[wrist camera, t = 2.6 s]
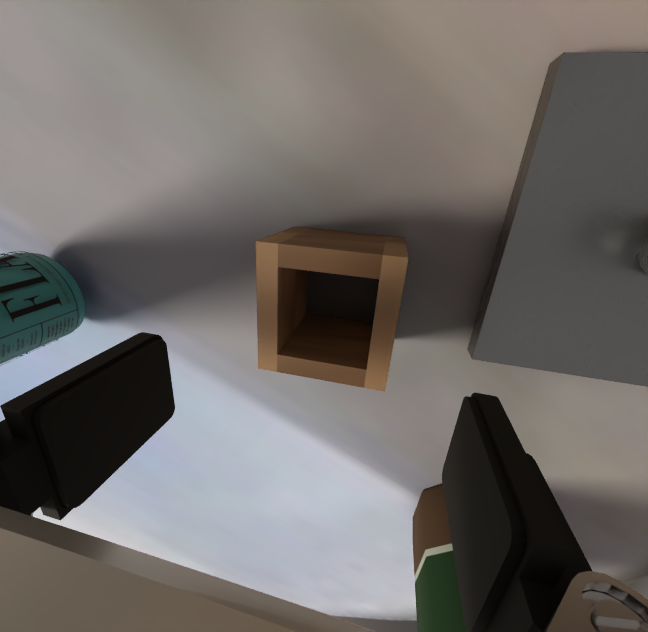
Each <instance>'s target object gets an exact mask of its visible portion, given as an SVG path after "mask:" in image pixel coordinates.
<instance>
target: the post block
mask: <svg viewBox="0 0 648 632" xmlns="http://www.w3.org/2000/svg"><path fill="white" fill-rule="evenodd" d="M468 351H469V354H470V356H471V358H472V359H475V360H481V361H487V362H494V363H500V364H507V365H513V366H519V367H526V368H532V369H538V370H545V371H551V372H558V373H564V374H570V375H577V376H583V377H590V378H596V379H602V380H609V381H615V382H621V383H628V384H634V385H641V386H647V387H648V53H563V54H561V55H560V56H559V57H558V58H556V59H555V60H554V61H553V62H551V63H550V65H549V68H548V72H547V75H546V79H545V82H544V85H543V89H542V92H541V96H540V99H539V103H538V106H537V110H536V113H535V117H534V120H533V124H532V127H531V131H530V134H529V138H528V141H527V144H526V148H525V151H524V155H523V158H522V162H521V165H520V169H519V172H518V176H517V179H516V183H515V186H514V190H513V193H512V197H511V200H510V203H509V207H508V210H507V214H506V217H505V221H504V224H503V228H502V231H501V235H500V238H499V242H498V245H497V249H496V252H495V256H494V259H493V262H492V266H491V269H490V273H489V276H488V280H487V283H486V287H485V290H484V294H483V297H482V301H481V304H480V308H479V311H478V315H477V318H476V321H475V325H474V328H473V332H472V335H471V339H470V342H469V346H468Z"/></svg>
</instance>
